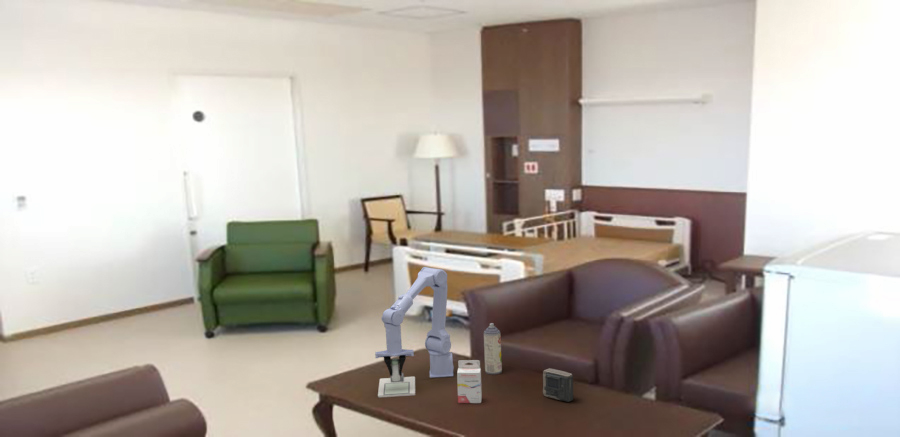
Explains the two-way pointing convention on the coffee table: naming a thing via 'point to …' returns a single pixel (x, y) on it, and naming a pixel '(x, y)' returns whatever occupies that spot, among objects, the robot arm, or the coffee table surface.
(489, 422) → the coffee table surface
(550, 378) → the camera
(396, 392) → the activity board
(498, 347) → the aerosol can
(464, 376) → the ink cartridge box
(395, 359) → the marker
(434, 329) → the robot arm
